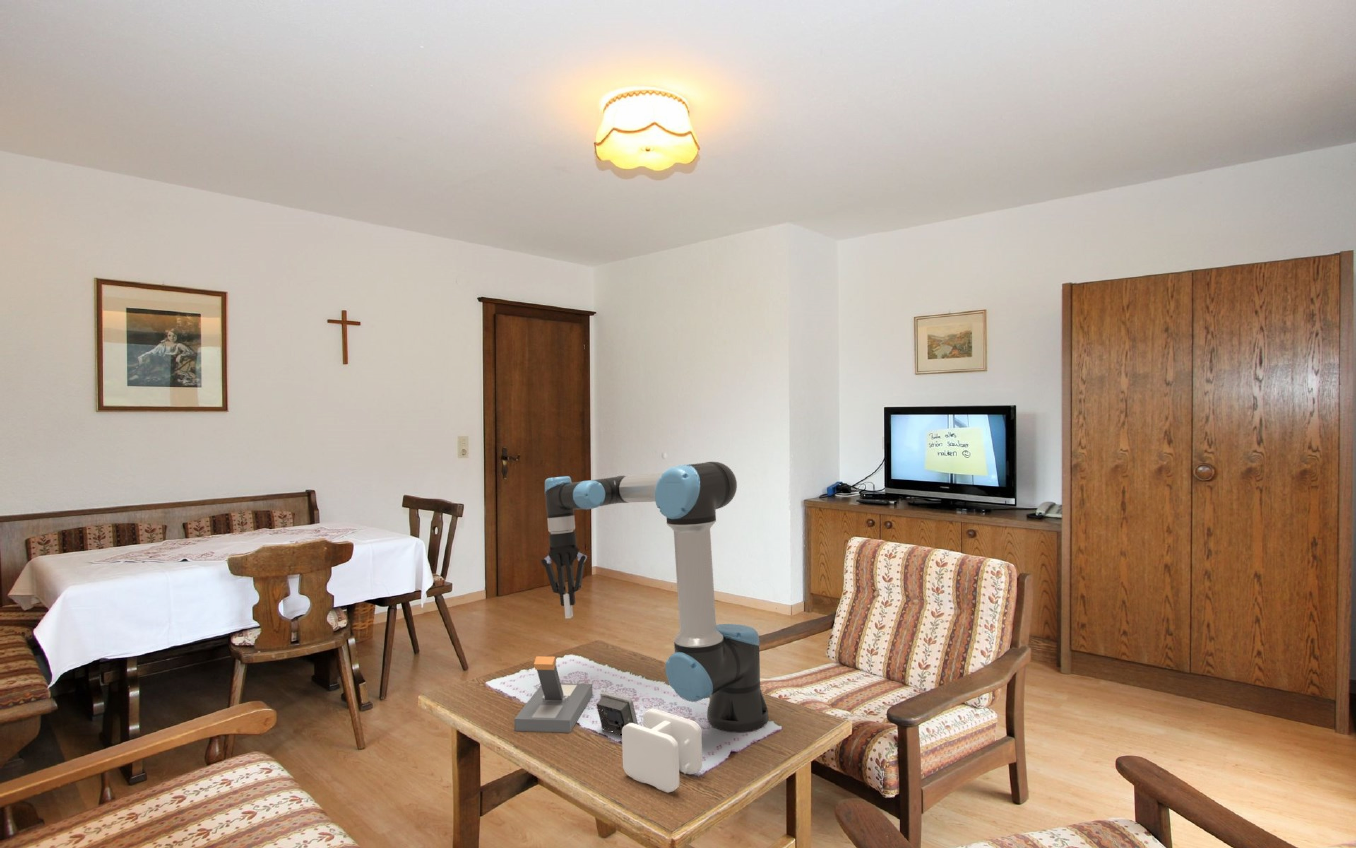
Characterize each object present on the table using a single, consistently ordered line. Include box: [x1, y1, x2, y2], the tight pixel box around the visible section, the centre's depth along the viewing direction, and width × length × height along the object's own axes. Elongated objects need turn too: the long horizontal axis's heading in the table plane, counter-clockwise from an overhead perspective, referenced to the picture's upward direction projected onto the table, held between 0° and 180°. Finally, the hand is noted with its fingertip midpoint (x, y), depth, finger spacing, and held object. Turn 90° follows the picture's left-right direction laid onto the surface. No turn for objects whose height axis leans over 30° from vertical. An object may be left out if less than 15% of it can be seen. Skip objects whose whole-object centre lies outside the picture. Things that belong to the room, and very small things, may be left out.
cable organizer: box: [621, 708, 703, 794], centre depth 149 cm, size 15×11×12 cm
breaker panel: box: [513, 682, 594, 734], centre depth 182 cm, size 22×14×4 cm, turn 173°
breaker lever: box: [533, 655, 564, 700], centre depth 178 cm, size 2×5×14 cm
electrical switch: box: [595, 691, 639, 735], centre depth 170 cm, size 9×5×9 cm, turn 57°
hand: (569, 617), depth 195 cm, fingers closed
